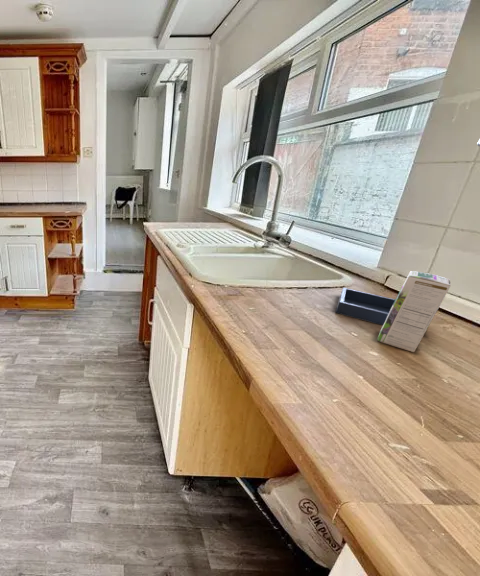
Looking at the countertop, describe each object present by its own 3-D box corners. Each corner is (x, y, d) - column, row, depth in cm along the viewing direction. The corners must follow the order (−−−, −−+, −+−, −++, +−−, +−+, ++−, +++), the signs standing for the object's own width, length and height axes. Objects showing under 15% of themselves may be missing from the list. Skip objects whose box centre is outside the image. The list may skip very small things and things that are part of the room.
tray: (416, 315, 76) (421, 305, 75) (423, 336, 66) (429, 324, 65) (339, 297, 85) (343, 287, 84) (335, 312, 75) (339, 301, 74)
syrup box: (379, 332, 67) (408, 269, 61) (416, 343, 63) (451, 277, 57) (376, 341, 63) (407, 275, 57) (415, 353, 59) (452, 284, 54)
